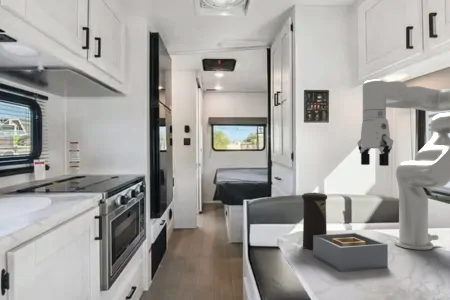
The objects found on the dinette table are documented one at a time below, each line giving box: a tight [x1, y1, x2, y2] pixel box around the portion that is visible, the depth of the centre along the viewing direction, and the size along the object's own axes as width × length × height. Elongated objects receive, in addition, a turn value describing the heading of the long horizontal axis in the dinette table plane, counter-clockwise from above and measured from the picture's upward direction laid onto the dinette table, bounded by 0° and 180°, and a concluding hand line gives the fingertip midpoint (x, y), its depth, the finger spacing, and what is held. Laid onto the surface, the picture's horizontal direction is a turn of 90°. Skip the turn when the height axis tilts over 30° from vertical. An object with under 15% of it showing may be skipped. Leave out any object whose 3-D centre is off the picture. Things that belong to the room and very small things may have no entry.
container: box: [301, 192, 328, 251], centre depth 128 cm, size 9×9×20 cm
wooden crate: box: [332, 237, 365, 247], centre depth 111 cm, size 8×6×6 cm
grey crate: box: [312, 232, 389, 273], centre depth 111 cm, size 16×16×7 cm
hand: (374, 165), depth 122 cm, fingers open, 9 cm apart
